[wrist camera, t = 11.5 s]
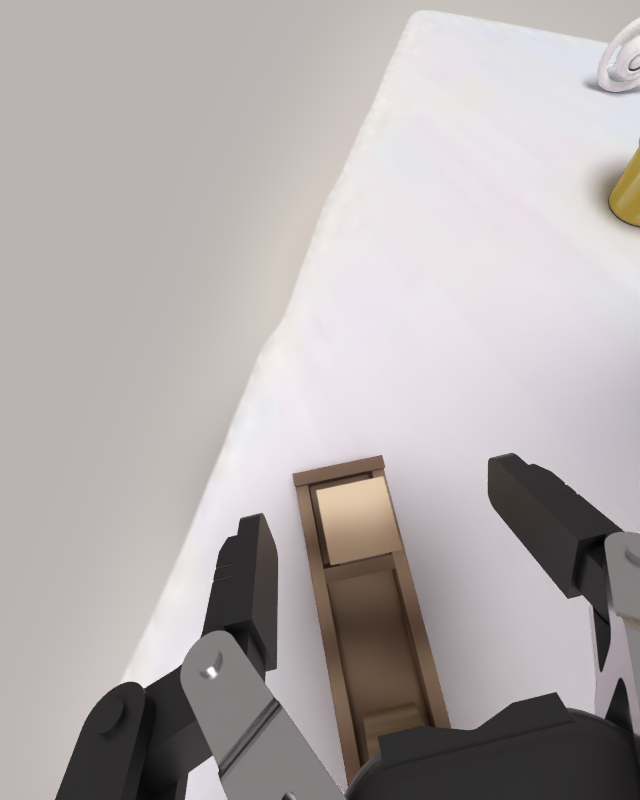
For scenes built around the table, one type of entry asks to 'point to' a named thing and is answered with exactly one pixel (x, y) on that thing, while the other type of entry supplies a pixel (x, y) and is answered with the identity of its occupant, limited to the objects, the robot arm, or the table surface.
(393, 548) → the block
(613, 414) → the table surface
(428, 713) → the rail
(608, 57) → the ring around a ball
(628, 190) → the plant pot
